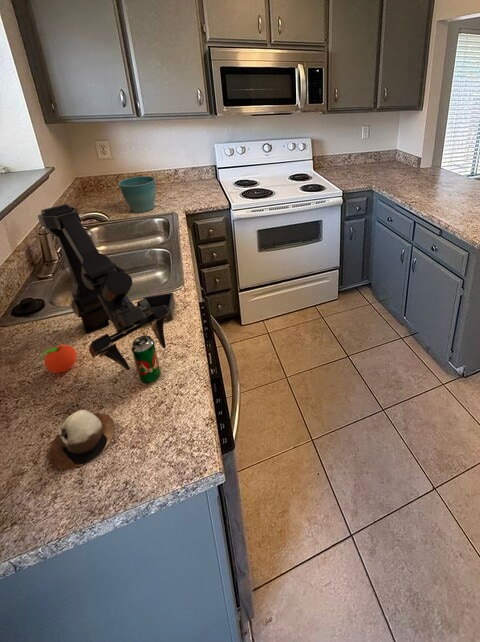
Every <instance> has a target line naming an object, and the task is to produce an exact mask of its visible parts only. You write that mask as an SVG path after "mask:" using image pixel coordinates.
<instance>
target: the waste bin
mask: <svg viewBox="0 0 480 642" xmlns="http://www.w3.org/2000/svg"><path fill="white" fill-rule="evenodd" d="M142 299H146V300H147V302H148V303H149V305H150V307H151V310H149V311H147V312H146V313H145V316H146V317H147V316H148V314H149V313H150V312H151V311H152V310H154V309H156V308H158V307H160V306H162V305H165V306H166V307H167V308H168V309H169V311H170V313H169V314H168V315H167V316H166V317H167V318H166V319H165V320H164V322H168V321H173V320H174V314H175V308H176V307H175V306H176V301H175V295H174V292H167V293H161V294H154V295H149V296H143V298H142ZM151 324H152V323H149V324H148V325H151ZM152 325H153V324H152Z"/></svg>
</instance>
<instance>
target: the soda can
mask: <svg viewBox="0 0 480 642" xmlns="http://www.w3.org/2000/svg"><path fill="white" fill-rule="evenodd" d="M130 349H131V352H132V357H133V360H134V363H135V367H136V372H137V375H138V379H139V381H140V383H141V384H144V385H149V384H153V383H155V382H156V381H157V380H158V379H159V378H160V377H161V374H162V371H161V366H160V362H159V358H158V354H157V349H156V345H155V341H154V339H153V338H152V337H151V336H150V335H140V336H138V337H137V338H135V339H134V340H133V341H132V345H131V348H130Z"/></svg>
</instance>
